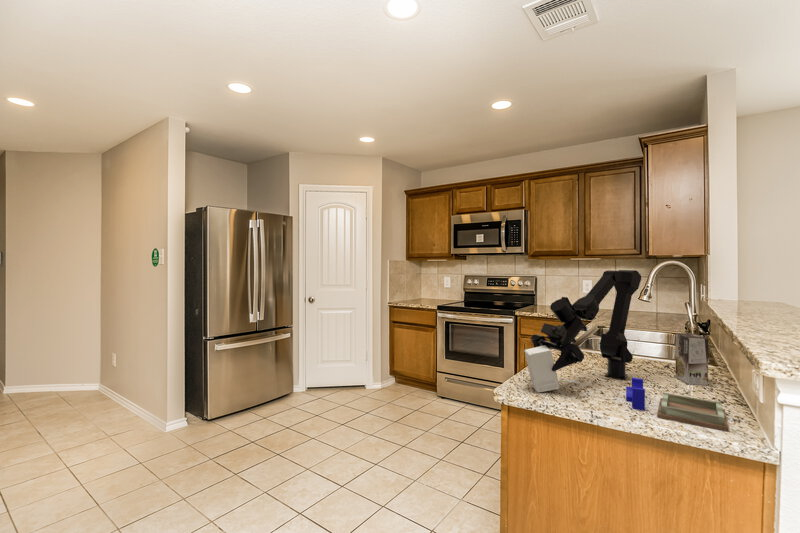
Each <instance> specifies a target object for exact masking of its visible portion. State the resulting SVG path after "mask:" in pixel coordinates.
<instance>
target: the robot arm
mask: <svg viewBox="0 0 800 533" xmlns="http://www.w3.org/2000/svg"><path fill="white" fill-rule="evenodd" d="M641 281H642V275H641V274H640V273H639V271H638V270H635V269H634V270H633V269H619V270H611V269H610V270H609V269H608V270H607V269H606V270H605V271H603V273H602V276H601V277H600V278H599V280H597V281H596V283H595V284H594V286H593V287H592V288H591V289H590V291H589V292H588V293H587V294H586V295H584V296H583V297H580V298H578V299H577V300H576V301H575V302H573V303H571V301H570V299H569V298H568V297H567V296H562V297H561V298H559V299H556V300H555V301H553V302H552V303H551V304H550V306H549V309H550V310H551V312H552V313H553V314H554V316H555V318H557V320H558V321H559V322H560V323H562V324H557V326H556V325H554V324H550V323H545V322H543V324H542V326H541V330H540V333H542V334H544V335H546V337H545V336H544V335H540V334H533V335H532V336H531V338H530V340H531V343H532V344H533V348H535V347H540V346H546V347H548V348H549V349H550V350H554V351H559V352H560V355H559V357H558V358H557V360H556V361H554V365H553V367H552V371H553V372H554V371H556V372H557V371H558V370H561V369H563V368H565V367H567V366H571V365H572V364H577V363H582V362H583V361H584V359H585V354H584V352H583V351H582V350H581V348H580V347H579V345H577V344H575V343H577V340H576V338H577V336H578V335H579V334H580V332H581V331H583V332H588V328H587V323H586V322H583V321H593V320H595V318H596V316H597V314H598V313H599V311H600V304H601V302H602V301H603V300H604V299H605V297H607V295H608V294H609V292H611V290H612V289H613V288H614V289H615V292H616V294H615V297H614V298H615V299H614V302H613V308H612V314H611V319H610V324H609V328H608V331H606V333H601V335H600V341H599V343H598V344H599V350H600V354H601V357H602V359H607V372H606V374H605V375H604V376H605V377H606V378H611V379H612V378H613V379H618V380H627V378H628V374H626V371H627V370H626V366H627V365H626V364H630V363H631V362H632V360H633V358H634V357H633V355H632V353H631V351H630V350H629V348H628V340H627V338H626V335H625V332H626V327H627V322H628V317H629V312H630V308H631V302H632V296H633V295H634V294H635V293H636V292H637V290H638V289H639V287H640V284H641ZM547 339H548V340H549V341H548V340H547Z"/></svg>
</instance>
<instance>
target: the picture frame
mask: <svg viewBox="0 0 800 533" xmlns="http://www.w3.org/2000/svg"><path fill="white" fill-rule="evenodd" d="M722 404H723V403H722V402H721V401H714V400H710V399H709V400H708V399H703V398H697V397H691V396H685V395H678V394H673V393H667V392H663V395H662V398H661V397H660V399H659V404H658V409H657V414H656V418H659V419H664V420H669V421H673V422H677V423H678V422H679V423H683V424H688V425H694V426H699V427H703V428H709V429H712V430H713V429H714V430H717V431H719V430H720V431H723V432H729V430H730V427H729V423H728V417H727V414H726V410H725V408H724V407H723V405H722Z"/></svg>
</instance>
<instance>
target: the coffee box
mask: <svg viewBox="0 0 800 533" xmlns="http://www.w3.org/2000/svg"><path fill="white" fill-rule="evenodd" d="M709 340H710V338H708V337H705V336H703V335H699V334H695V333H675V378H677V379H679V380H680V381H682V382H684V383H686V384H687V385H696V386H697V385H698V386H708V384H709V383H708V381H709V344H710V342H709Z"/></svg>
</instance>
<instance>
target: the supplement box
mask: <svg viewBox="0 0 800 533" xmlns="http://www.w3.org/2000/svg"><path fill="white" fill-rule="evenodd" d="M523 351H524V355H525V360H526V364H527V369H528V373H529V376H530V377H529V378H530V382H531V386H532V388H533V389H534V390H535V392H536V393H543V392H548V391H549V392H550V391H555V390H559V389H560V383H559V379H558V374H557V370H556V371H554V372H553V371H552V367H553V365H554V364H555V361H554V357H553V353H552V349H551V348H548V347H546V346H540V347H535V348H534V347H532V348H531V347H530V348H528V349H527V348H526V349H524V350H523Z"/></svg>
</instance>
